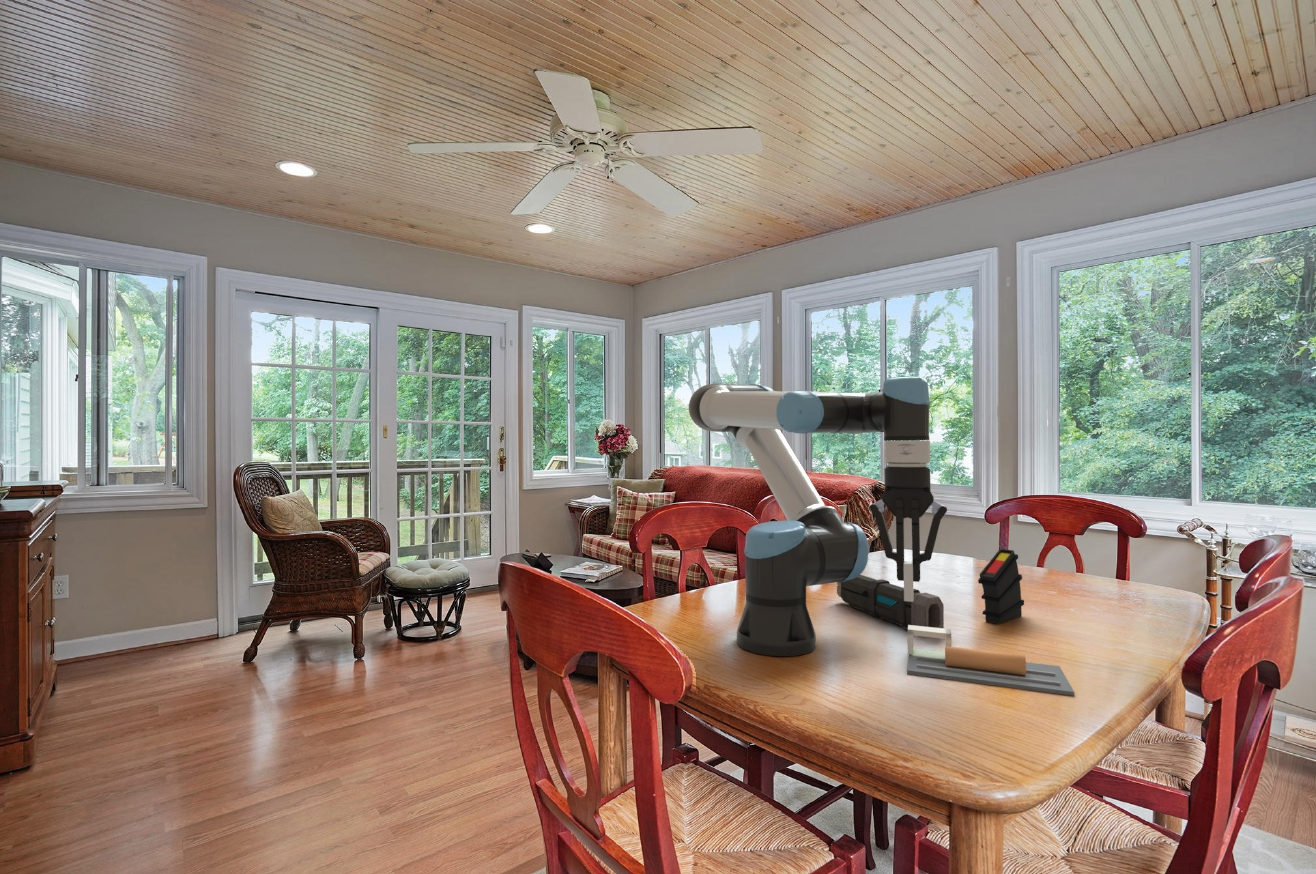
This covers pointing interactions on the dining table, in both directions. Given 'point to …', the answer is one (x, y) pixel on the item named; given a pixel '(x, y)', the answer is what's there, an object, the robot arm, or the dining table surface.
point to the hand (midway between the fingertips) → (908, 599)
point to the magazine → (1001, 588)
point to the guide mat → (990, 674)
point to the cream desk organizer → (927, 635)
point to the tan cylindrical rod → (985, 660)
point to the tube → (892, 602)
